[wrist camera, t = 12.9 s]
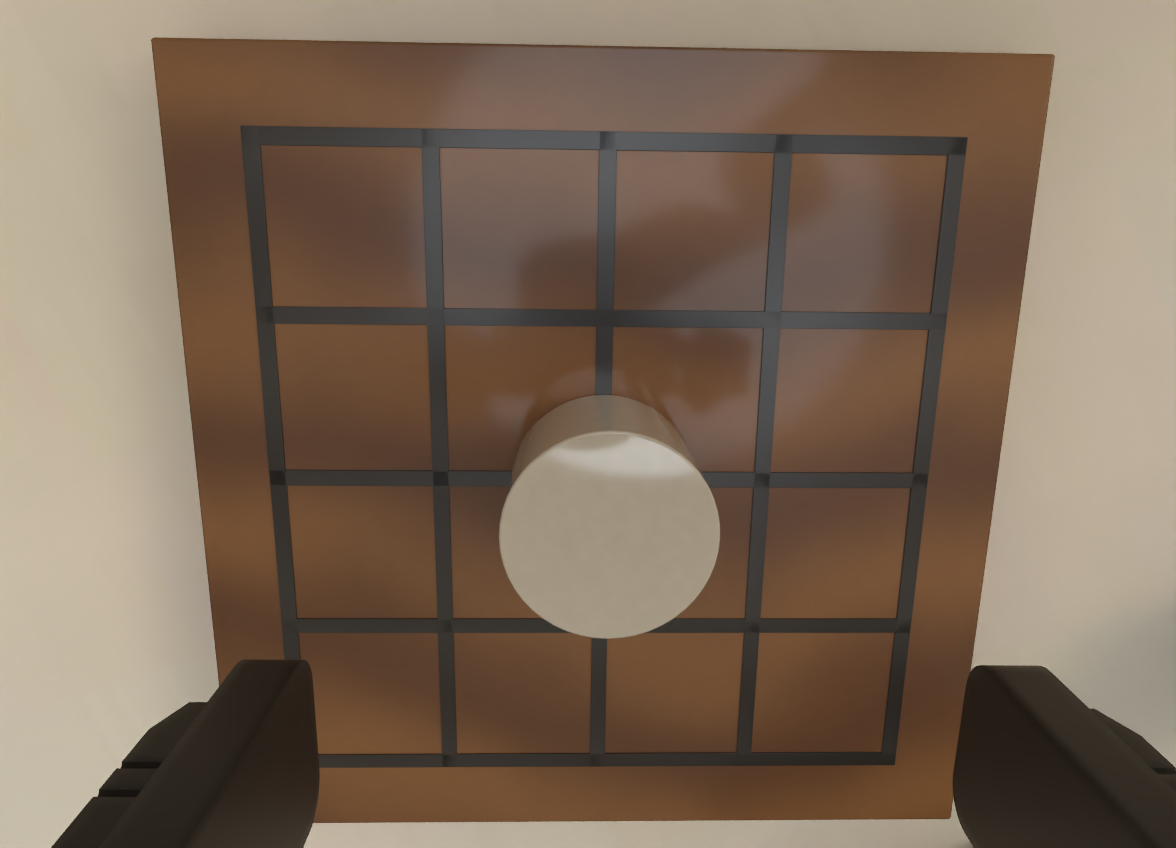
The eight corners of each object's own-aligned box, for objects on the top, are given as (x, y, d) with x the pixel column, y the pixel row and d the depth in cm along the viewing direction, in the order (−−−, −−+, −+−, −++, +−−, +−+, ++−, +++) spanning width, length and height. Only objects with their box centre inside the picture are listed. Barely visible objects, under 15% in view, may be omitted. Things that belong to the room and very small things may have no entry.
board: (181, 50, 19) (148, 36, 18) (1020, 65, 20) (1057, 53, 18) (252, 788, 24) (232, 825, 23) (928, 784, 25) (951, 820, 23)
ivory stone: (509, 393, 20) (496, 430, 16) (698, 394, 20) (726, 431, 16) (511, 570, 21) (500, 639, 17) (690, 570, 21) (715, 639, 18)
